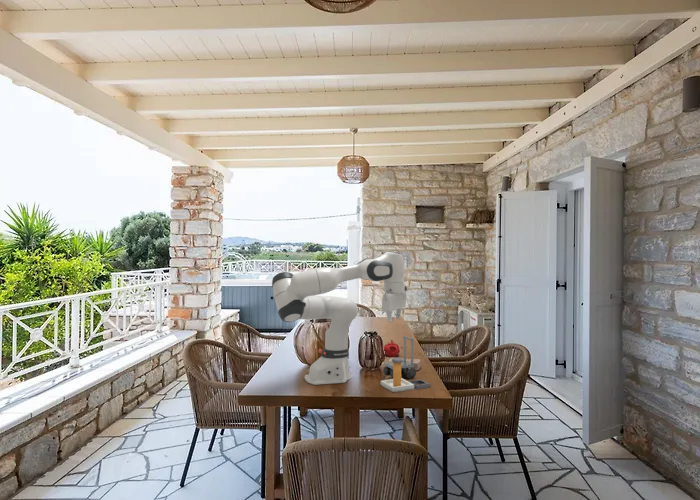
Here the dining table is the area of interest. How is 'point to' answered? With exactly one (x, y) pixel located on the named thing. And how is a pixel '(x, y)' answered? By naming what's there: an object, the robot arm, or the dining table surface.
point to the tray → (404, 386)
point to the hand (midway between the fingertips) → (394, 319)
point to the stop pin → (397, 371)
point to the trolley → (402, 364)
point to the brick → (415, 361)
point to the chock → (388, 377)
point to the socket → (420, 384)
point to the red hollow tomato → (391, 349)
